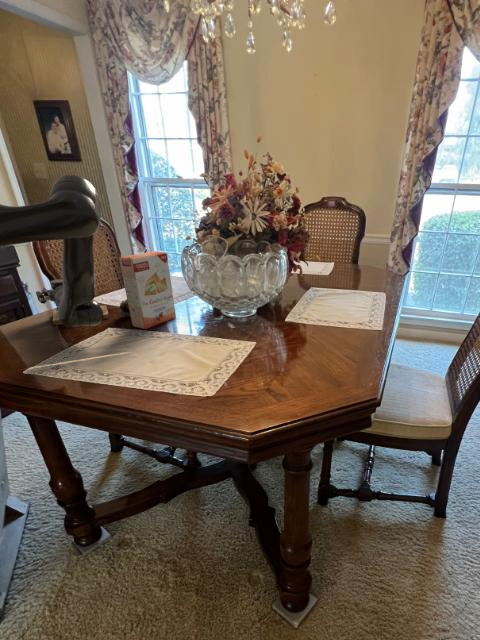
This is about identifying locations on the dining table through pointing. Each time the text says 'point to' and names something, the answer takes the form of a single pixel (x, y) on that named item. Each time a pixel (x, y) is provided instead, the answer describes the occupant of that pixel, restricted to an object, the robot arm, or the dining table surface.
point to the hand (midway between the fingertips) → (59, 289)
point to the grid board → (57, 322)
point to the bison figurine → (124, 309)
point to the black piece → (56, 283)
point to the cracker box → (148, 288)
